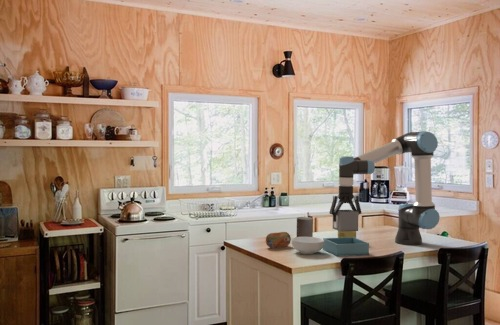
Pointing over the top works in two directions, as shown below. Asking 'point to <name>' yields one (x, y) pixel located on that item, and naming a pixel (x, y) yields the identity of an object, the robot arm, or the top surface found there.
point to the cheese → (346, 234)
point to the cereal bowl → (307, 244)
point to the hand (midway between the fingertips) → (345, 227)
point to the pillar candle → (304, 227)
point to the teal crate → (346, 246)
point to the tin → (278, 240)
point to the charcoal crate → (347, 220)
